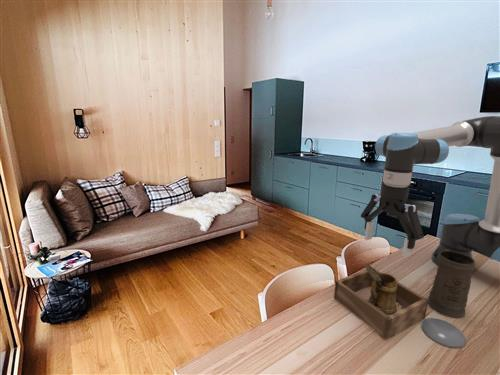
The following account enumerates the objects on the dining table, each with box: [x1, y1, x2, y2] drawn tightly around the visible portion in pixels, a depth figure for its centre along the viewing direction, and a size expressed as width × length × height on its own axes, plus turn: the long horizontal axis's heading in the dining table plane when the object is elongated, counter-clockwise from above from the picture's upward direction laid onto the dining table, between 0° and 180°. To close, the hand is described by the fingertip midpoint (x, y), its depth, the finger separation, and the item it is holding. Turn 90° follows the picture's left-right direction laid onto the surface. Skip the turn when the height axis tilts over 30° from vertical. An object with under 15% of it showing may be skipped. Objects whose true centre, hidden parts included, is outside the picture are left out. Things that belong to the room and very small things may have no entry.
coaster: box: [421, 317, 466, 349], centre depth 83 cm, size 11×11×1 cm
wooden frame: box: [333, 267, 429, 341], centre depth 93 cm, size 19×21×7 cm
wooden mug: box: [364, 264, 398, 316], centre depth 92 cm, size 9×14×18 cm, turn 110°
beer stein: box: [427, 250, 476, 319], centre depth 94 cm, size 15×11×20 cm
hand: (385, 247), depth 88 cm, fingers open, 13 cm apart
